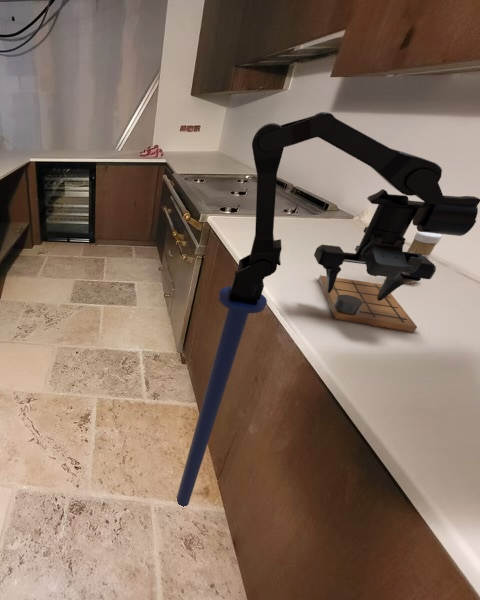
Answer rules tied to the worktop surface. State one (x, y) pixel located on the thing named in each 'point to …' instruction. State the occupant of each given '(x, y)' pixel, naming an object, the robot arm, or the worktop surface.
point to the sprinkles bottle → (424, 244)
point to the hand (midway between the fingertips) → (352, 295)
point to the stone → (348, 304)
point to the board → (368, 304)
